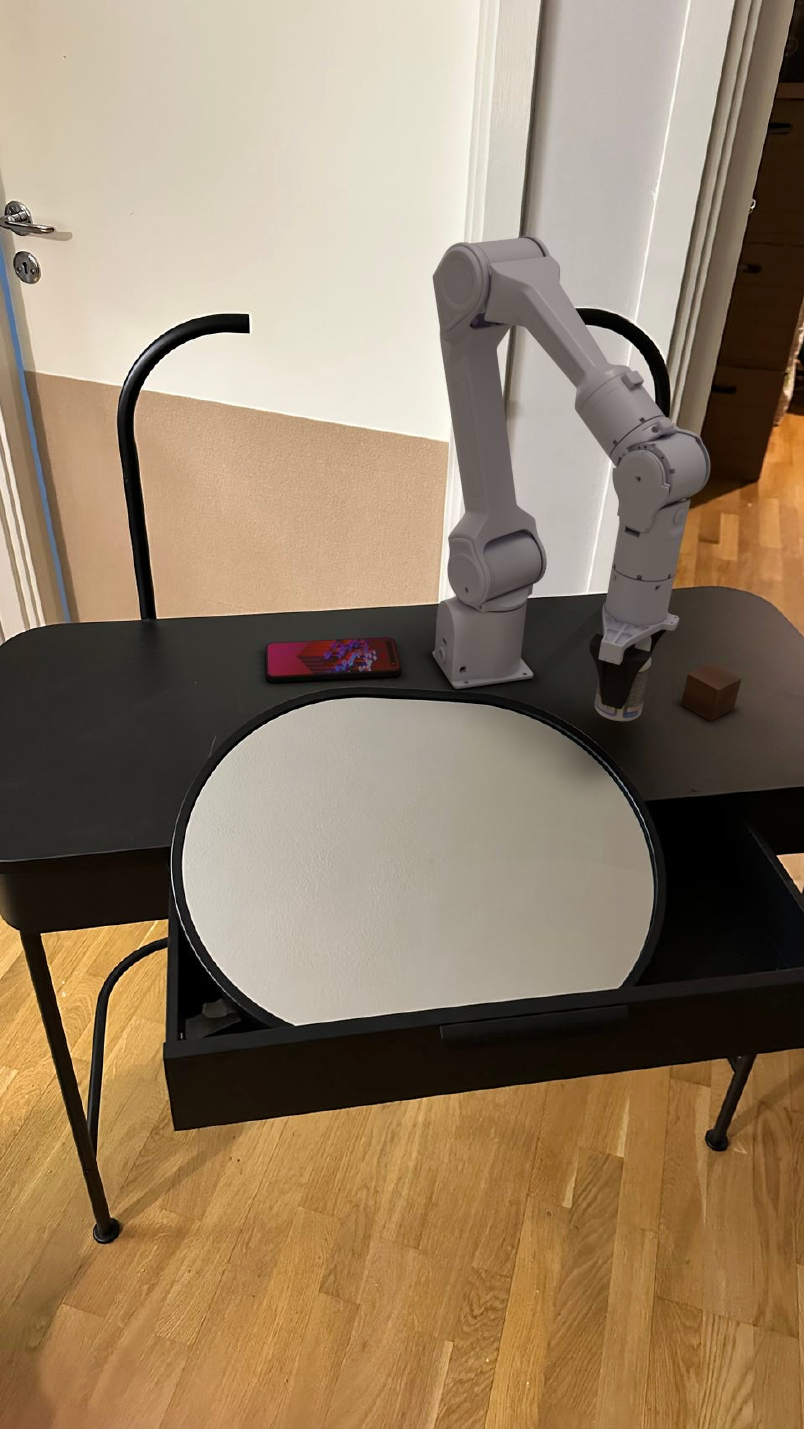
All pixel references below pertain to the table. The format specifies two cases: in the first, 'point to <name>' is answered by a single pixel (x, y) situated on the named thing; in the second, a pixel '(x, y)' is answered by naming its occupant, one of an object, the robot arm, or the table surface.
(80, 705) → the table surface
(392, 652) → the smartphone
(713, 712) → the walnut block
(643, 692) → the pill bottle
